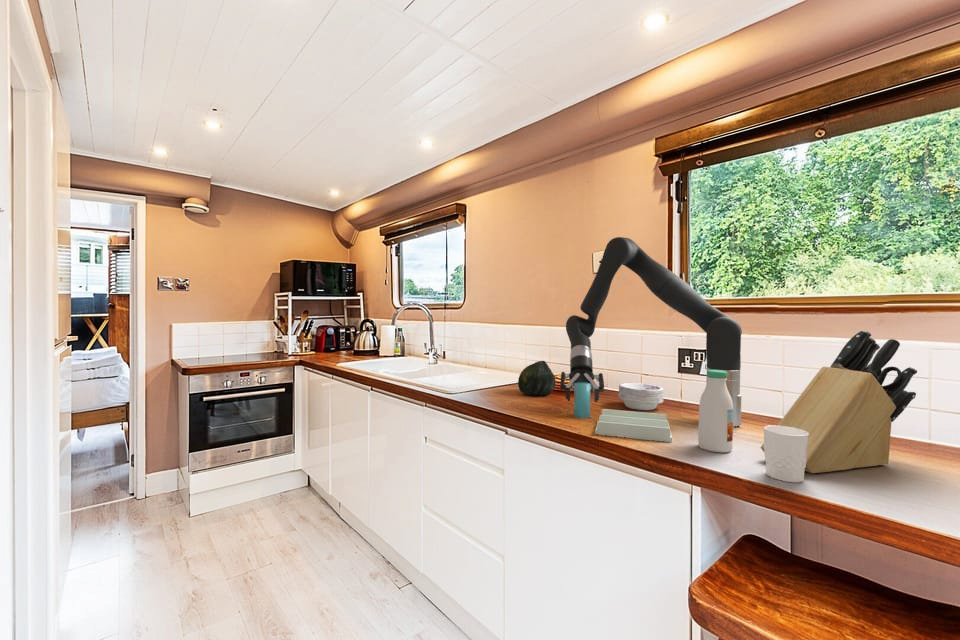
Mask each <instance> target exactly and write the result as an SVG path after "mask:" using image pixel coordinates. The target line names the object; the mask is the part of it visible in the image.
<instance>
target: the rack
mask: <svg viewBox="0 0 960 640" xmlns="http://www.w3.org/2000/svg"><path fill="white" fill-rule="evenodd" d="M669 422H670V421H669V420H668V414H666V413H656V412H655V413H653V412H644V411H643V412H642V411H634V410H633V411H630V410H619V409H609V408H608V409H607V408H606V409H605V408H602V409H601V414H599V419H598V420H597V421H596V428H595V429H594V435H596V434H599V435H598V436H605V435H607V437H615V436H617V438H624V437H626V439H635V440H646V441H653V440H654V441H655V442H656V441H657V442H663V441H664V442H666V443H673V436H672V431H671V428H670V427H671V426H670V425H669V424H670V423H669Z"/></svg>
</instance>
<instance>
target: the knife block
mask: <svg viewBox="0 0 960 640" xmlns="http://www.w3.org/2000/svg"><path fill="white" fill-rule="evenodd" d="M871 336H872V333H871V332H869V331H868V330H865V329H862V330H860V331H859V332H857V333H856V334H855V335H853V336H852V337H851V338H850V339H849V340H848V341H847V342H846V343H845V344H844V346H843V347H842V349H841V350H840V352H839V353H838V355H837V357H836V358H835V359H834V361H833V362H832V363H831V365H830V367H829V366H822V367H821V368H820V369H819V371H818V372H817V373H816V374H815V376H814V377H813V378H812V380H811V381H810V382H809V383H808V384H807V386H805V388H804V389H803V391H802V392H801V393H800V395H799V396H798V398H796V400H795V401H794V403H793V404H792V405H791V407H790V408H789V410H788V411H786V413H785V414H784V416H783V417H782V418H781V420H780V421H779V423H778V424H777V425H776V426H786V427H793V428H797V429H801V430H804V431H806V432H808V433H809V438H808V449H807V461H806V468H805V471H804V472H807V473H809V474H816V473H817V474H819V473H826V472H827V473H828V472H836V471H845V470H850V469H856V468H868V467H875V466H878V465H882V466H884V465H889V462H890V461H889V460H890V459H889V458H890V448H891V447H890V446H891V434H892V433H891V432H892V423H894V421H895V420H896V419H897V418H898V417H899V416H900V415H901V414H902V413H903V412H904V410H905V409H906V408H907V407H908V405H909V404H910V403H911V401H913V400H914V399H916V396H917V392H915V391H907V390H905V389H906V387H907V386H908V385H909V384H910V381H911V380H912V378H913V376H915V375H916V374H917V373H918V370H917V369H916V368H913V367H911V366H909V367H907V368H905V369H903V370H902V371H901V369H899V367H896V366H887V364H888V363H889V361H891V359H892V358H893V357H894V356H895V355H896V353H897V351H898V349H899V347H900V345H901V343H900V341H898V340H896V339H893V338H890V339H888V340H887V341H885V343H884V344H883V345H882V346H880V344H878V343H877V342H876V340H875V339H874V338H872V337H871ZM876 352H877V353H876ZM872 358H873V359H872ZM871 360H872V361H871ZM870 362H871V363H870ZM885 366H887V367H885ZM884 367H885V368H884ZM883 368H884V369H883ZM892 371H894V372H896V374H897V376H895V378H894V380H892V382H891V383H889V384H886V385H883V384H884V381H885V379H886V378H887V375H888V374H889V373H890V372H892ZM760 449H761V451H763V453H764V454H765V450H764V443H762V445H761V447H760Z"/></svg>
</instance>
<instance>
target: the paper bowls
mask: <svg viewBox="0 0 960 640" xmlns="http://www.w3.org/2000/svg"><path fill="white" fill-rule="evenodd" d="M618 398H619V399H620V400H622V401H623V403H624V405H625V407H626V408H629V409H632V410H635V409H636V411H653V410H656V408H657V406H658V405H659V404H662V403H664V388H663V386H659V385H654V384H649V383H647V384H646V383H639V382H638V383H637V382H636V383H635V382H634V383H633V382H630V383H629V382H627V383H626V382H625V383H621V384H619V385H618Z"/></svg>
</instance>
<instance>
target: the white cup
mask: <svg viewBox="0 0 960 640" xmlns="http://www.w3.org/2000/svg"><path fill="white" fill-rule="evenodd" d="M808 438H809V433H808V432H806V431H804V430H801V429H797V428H793V427H786V426H777V425H773V424H772V425H765V426H763V444H764V450H765V453H764V460H765V474H766V475H767V476H768V477H769V476H770V478H772V479H774V478H775V480H777V479H778V480H777V481H781V480H782V482H785V483H795V482H796V483H802V482H804V480H805V472H806V471H805V468H806V461H807V449H808Z"/></svg>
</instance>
